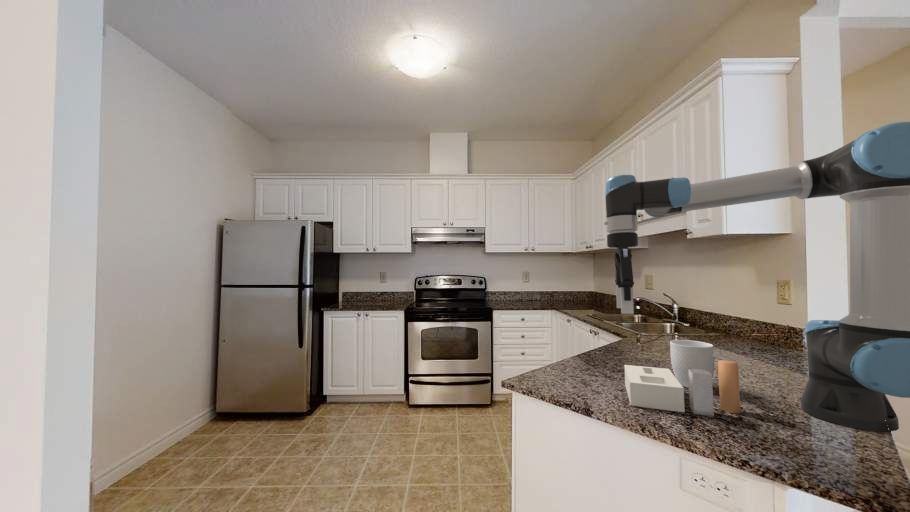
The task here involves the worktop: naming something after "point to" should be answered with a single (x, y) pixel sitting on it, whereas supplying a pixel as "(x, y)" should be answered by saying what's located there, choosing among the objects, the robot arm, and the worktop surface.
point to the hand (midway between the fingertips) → (624, 310)
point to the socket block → (654, 388)
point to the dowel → (729, 386)
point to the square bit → (701, 392)
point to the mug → (692, 359)
